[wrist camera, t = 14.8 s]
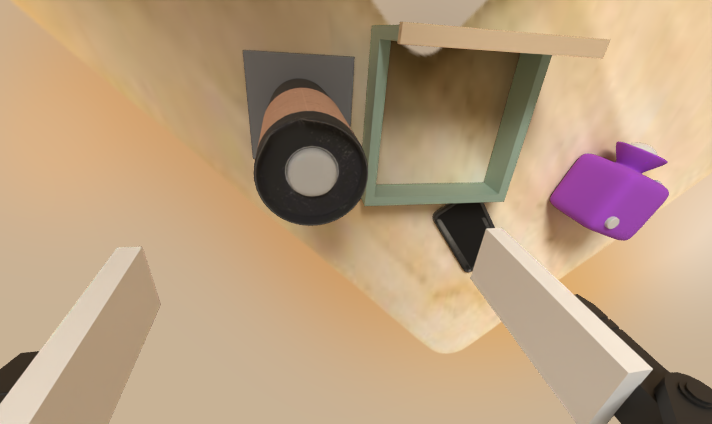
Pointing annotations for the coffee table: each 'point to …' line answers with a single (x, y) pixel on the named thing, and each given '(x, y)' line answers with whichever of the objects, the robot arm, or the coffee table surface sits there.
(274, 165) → the travel mug
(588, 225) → the toy camera
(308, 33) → the coffee table surface
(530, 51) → the frame
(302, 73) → the rubber mat
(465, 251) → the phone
